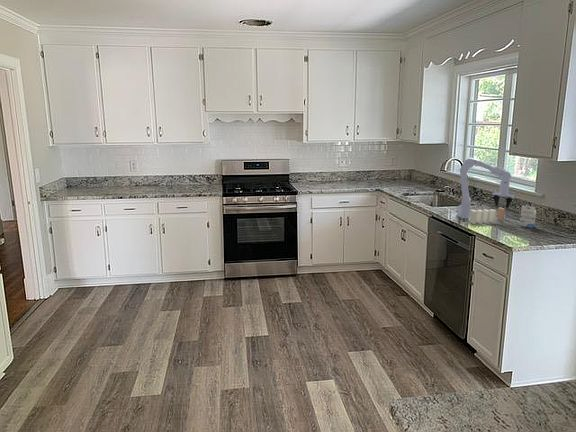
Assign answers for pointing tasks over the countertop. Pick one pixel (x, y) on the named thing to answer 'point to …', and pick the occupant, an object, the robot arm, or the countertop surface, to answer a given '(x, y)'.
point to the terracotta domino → (500, 214)
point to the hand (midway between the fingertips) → (501, 206)
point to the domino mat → (490, 222)
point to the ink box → (527, 216)
